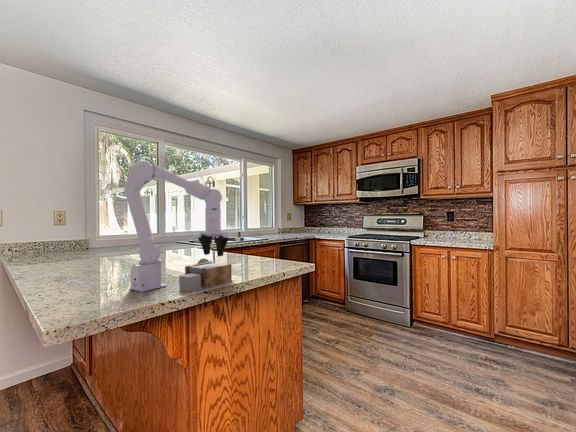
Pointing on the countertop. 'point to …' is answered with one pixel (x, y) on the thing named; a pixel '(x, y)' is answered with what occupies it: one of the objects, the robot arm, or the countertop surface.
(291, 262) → the countertop surface
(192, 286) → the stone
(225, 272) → the frame
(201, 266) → the trapdoor
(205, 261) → the coral
